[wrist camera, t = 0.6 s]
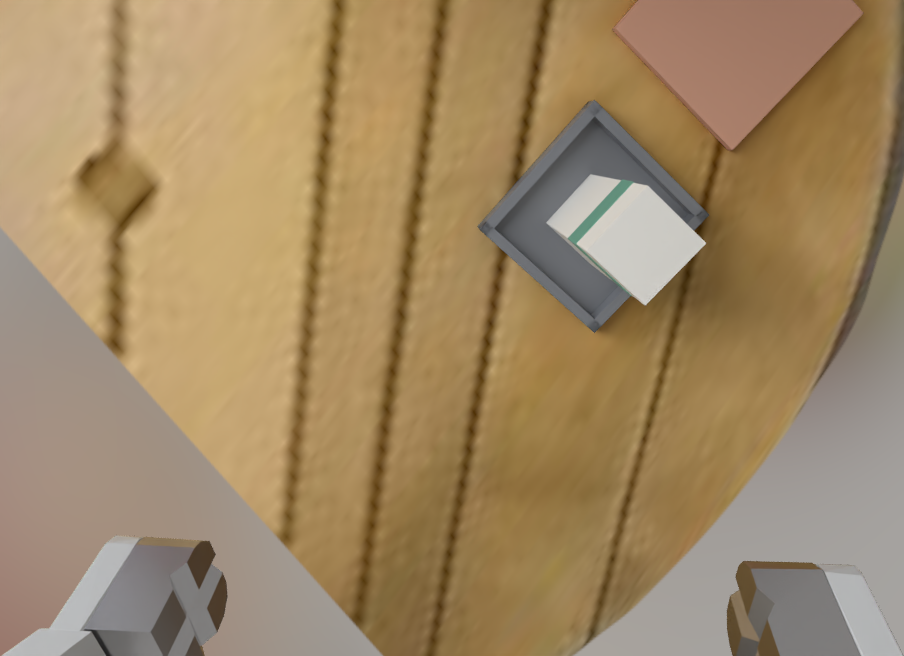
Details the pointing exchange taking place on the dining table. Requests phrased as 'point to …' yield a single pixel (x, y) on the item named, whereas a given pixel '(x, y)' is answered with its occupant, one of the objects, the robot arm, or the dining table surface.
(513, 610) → the dining table surface
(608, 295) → the parts tray
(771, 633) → the robot arm
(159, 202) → the dining table surface
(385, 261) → the dining table surface
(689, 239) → the labelled box
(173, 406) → the dining table surface
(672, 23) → the mat
